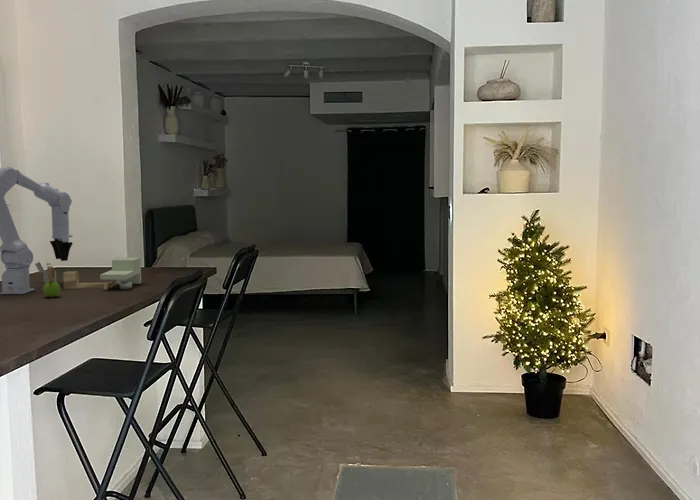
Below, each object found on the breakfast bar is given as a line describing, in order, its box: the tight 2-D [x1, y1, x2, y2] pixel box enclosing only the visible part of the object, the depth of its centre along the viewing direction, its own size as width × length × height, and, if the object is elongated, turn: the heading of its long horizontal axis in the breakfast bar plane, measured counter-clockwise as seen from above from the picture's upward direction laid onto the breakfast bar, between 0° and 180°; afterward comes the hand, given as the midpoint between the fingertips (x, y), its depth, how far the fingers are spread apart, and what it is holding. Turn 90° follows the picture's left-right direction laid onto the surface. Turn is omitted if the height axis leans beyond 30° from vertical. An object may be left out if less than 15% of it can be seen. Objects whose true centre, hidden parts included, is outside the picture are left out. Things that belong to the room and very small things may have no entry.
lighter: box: [34, 261, 57, 284], centre depth 248 cm, size 7×2×8 cm, turn 100°
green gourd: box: [42, 262, 61, 298], centre depth 214 cm, size 5×6×12 cm
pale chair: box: [99, 256, 142, 285], centre depth 238 cm, size 20×9×10 cm, turn 3°
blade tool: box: [62, 270, 114, 291], centre depth 235 cm, size 7×16×6 cm, turn 93°
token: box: [119, 281, 133, 290], centre depth 236 cm, size 4×4×2 cm
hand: (61, 259), depth 241 cm, fingers open, 7 cm apart
